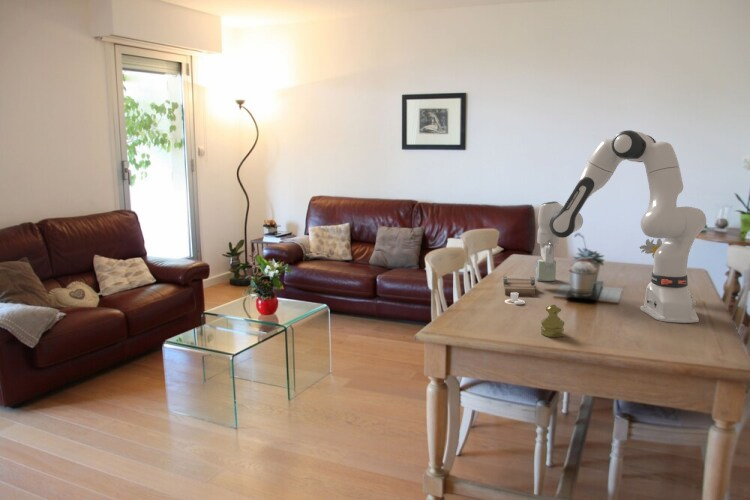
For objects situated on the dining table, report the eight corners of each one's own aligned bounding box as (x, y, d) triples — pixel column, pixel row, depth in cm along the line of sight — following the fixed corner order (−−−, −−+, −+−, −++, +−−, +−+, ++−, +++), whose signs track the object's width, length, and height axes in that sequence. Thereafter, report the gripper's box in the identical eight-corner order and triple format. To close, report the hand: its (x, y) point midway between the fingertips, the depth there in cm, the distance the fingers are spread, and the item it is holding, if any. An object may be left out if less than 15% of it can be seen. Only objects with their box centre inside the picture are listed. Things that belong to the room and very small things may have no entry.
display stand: (535, 296, 241) (536, 283, 240) (503, 295, 243) (504, 282, 242) (532, 285, 258) (532, 273, 257) (502, 284, 261) (503, 272, 260)
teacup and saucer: (525, 306, 228) (525, 296, 227) (504, 305, 229) (504, 295, 228) (524, 300, 236) (524, 291, 235) (504, 299, 238) (504, 290, 237)
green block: (555, 279, 250) (556, 261, 248) (538, 279, 251) (539, 261, 250) (554, 277, 254) (554, 259, 252) (537, 277, 255) (538, 259, 253)
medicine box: (552, 279, 269) (553, 260, 268) (554, 281, 265) (555, 262, 263) (535, 278, 270) (536, 260, 268) (537, 281, 266) (537, 262, 264)
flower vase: (686, 302, 228) (691, 243, 223) (637, 299, 234) (641, 241, 229) (680, 294, 239) (685, 237, 235) (634, 291, 245) (638, 236, 241)
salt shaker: (567, 333, 194) (568, 305, 193) (558, 339, 189) (559, 310, 187) (547, 329, 199) (548, 301, 197) (537, 334, 194) (538, 306, 192)
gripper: (558, 243, 238) (557, 275, 241) (552, 235, 258) (551, 265, 261) (542, 243, 240) (541, 275, 242) (538, 235, 259) (537, 265, 262)
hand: (546, 270), depth 252 cm, fingers closed on green block, 4 cm apart
